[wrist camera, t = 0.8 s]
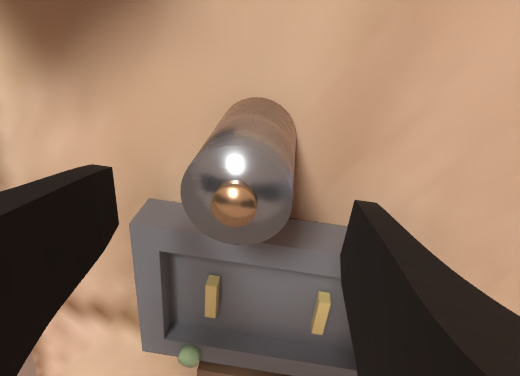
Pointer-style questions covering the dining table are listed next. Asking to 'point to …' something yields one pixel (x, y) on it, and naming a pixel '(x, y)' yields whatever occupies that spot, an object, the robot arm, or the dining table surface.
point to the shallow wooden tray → (230, 370)
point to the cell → (243, 175)
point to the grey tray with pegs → (241, 295)
